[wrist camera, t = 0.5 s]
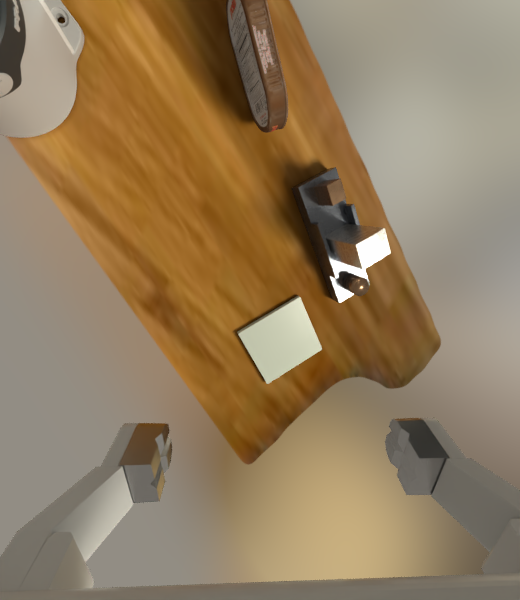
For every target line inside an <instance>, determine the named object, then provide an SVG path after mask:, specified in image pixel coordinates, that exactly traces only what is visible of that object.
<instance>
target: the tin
mask: <svg viewBox="0 0 520 600" xmlns="http://www.w3.org/2000/svg"><path fill="white" fill-rule="evenodd" d="M226 11H227V21H228V28H229V34H230V38H231V43H232V46H233V50H234V54H235V57H236V61H237V65H238V68H239V72H240V76H241V79H242V83H243V86H244V90H245V93H246V97H247V100H248V104H249V107H250V110H251V113H252V116H253V118H254V121H255V123H256V124H257V126H258V128H259V129H260V130H261V131H263V132H271V131H274V130H277V129H282V128H284V126H285V124H286V122H287V117H288V96H287V89H286V84H285V79H284V75H283V70H282V66H281V61H280V57H279V53H278V49H277V44H276V39H275V35H274V31H273V26H272V22H271V17H270V13H269V8H268V4H267V0H227V2H226Z"/></svg>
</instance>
